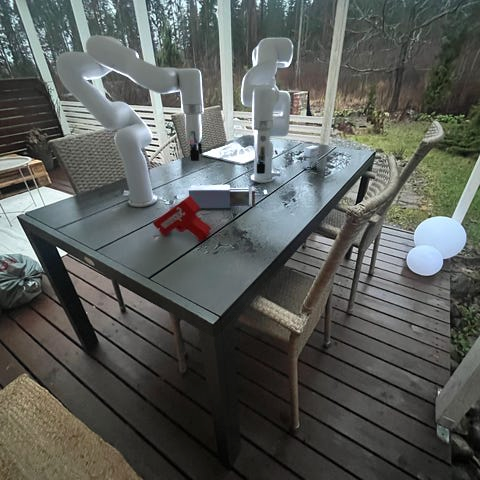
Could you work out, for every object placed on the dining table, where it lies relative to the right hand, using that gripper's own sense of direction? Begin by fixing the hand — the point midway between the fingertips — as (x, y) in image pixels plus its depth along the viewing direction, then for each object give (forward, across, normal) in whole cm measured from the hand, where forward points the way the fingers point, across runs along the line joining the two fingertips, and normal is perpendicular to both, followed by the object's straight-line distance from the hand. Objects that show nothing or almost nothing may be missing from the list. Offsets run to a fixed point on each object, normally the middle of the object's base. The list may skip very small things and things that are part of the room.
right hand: (260, 172), depth 110 cm
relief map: (+15, +80, +11) cm, 83 cm away
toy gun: (+15, -24, +29) cm, 41 cm away
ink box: (+15, +53, -34) cm, 65 cm away
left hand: (-7, 0, +25) cm, 26 cm away
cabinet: (+15, 0, +21) cm, 26 cm away
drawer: (+14, 0, +7) cm, 16 cm away
